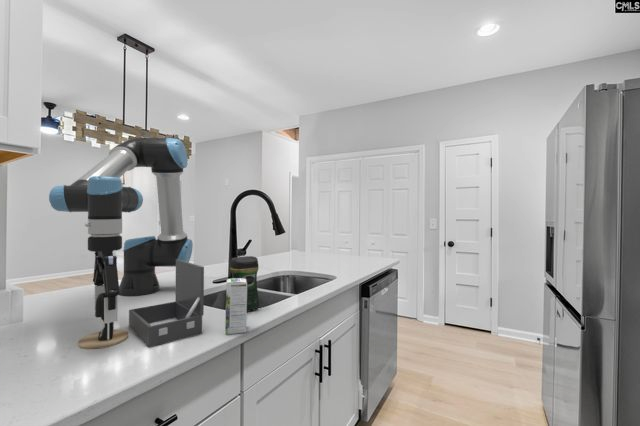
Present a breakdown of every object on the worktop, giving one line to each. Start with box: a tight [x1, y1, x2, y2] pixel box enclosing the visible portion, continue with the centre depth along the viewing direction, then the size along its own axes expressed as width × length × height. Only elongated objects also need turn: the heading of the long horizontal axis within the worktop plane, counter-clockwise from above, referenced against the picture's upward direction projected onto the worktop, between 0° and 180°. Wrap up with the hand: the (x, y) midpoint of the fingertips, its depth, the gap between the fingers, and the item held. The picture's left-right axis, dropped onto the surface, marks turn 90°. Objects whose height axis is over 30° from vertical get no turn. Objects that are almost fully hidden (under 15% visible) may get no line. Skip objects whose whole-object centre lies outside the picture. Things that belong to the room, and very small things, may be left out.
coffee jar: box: [229, 255, 260, 312], centre depth 111 cm, size 10×8×19 cm
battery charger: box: [94, 293, 115, 340], centre depth 83 cm, size 7×4×11 cm, turn 31°
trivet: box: [77, 329, 130, 350], centre depth 83 cm, size 11×11×1 cm
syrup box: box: [224, 278, 248, 336], centre depth 91 cm, size 6×6×14 cm
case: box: [128, 259, 205, 348], centre depth 91 cm, size 20×14×19 cm
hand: (105, 315), depth 84 cm, fingers open, 13 cm apart
